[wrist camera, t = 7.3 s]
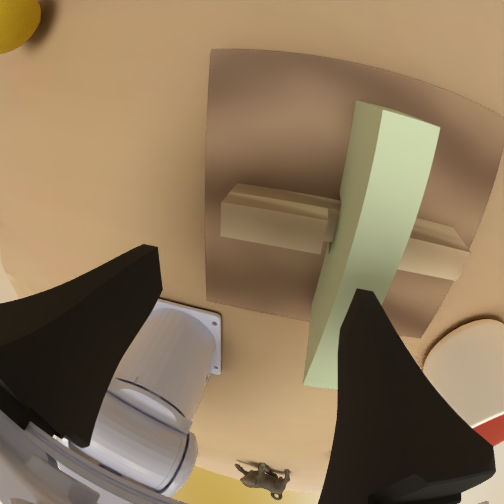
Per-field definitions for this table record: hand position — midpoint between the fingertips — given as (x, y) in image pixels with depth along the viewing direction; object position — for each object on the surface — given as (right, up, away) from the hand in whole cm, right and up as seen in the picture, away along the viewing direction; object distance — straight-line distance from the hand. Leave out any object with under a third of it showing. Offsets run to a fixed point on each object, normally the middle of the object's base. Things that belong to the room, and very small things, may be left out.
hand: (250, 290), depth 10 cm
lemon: (-18, +21, +3) cm, 28 cm away
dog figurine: (+3, -44, +39) cm, 59 cm away
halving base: (+6, +4, +7) cm, 10 cm away
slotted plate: (+6, +3, +6) cm, 9 cm away
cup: (+21, -8, +11) cm, 25 cm away
